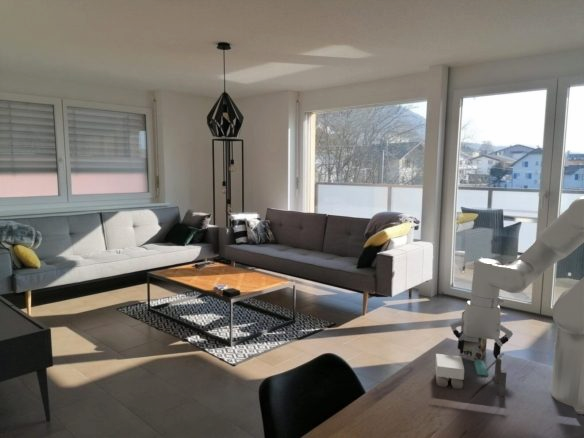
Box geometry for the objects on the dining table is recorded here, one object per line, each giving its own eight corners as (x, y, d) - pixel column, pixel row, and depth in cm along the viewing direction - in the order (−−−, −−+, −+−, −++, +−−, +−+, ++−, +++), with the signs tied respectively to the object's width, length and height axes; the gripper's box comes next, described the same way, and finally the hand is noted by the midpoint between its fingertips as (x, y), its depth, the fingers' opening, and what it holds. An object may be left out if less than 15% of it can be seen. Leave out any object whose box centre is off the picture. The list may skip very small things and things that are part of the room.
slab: (460, 366, 126) (461, 356, 126) (463, 379, 118) (464, 369, 118) (435, 363, 128) (435, 353, 127) (436, 376, 120) (437, 366, 120)
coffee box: (479, 366, 135) (482, 317, 133) (458, 360, 139) (461, 312, 136) (486, 355, 142) (489, 309, 140) (466, 350, 146) (469, 304, 144)
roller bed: (498, 384, 124) (500, 358, 123) (504, 401, 116) (506, 373, 115) (432, 375, 129) (434, 350, 128) (434, 391, 120) (435, 364, 119)
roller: (473, 367, 134) (474, 358, 134) (483, 369, 134) (485, 360, 133) (476, 378, 128) (478, 369, 127) (487, 380, 127) (488, 371, 126)
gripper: (513, 299, 129) (506, 352, 132) (452, 292, 133) (446, 344, 136) (519, 308, 122) (511, 364, 125) (454, 300, 126) (448, 355, 129)
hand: (478, 353), depth 130 cm, fingers open, 9 cm apart
